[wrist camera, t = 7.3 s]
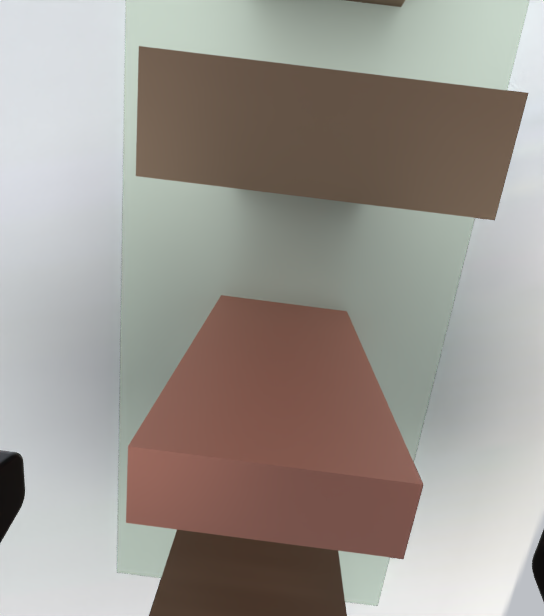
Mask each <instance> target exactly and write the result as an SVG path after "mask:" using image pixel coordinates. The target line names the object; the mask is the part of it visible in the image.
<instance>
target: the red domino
mask: <svg viewBox="0 0 544 616" xmlns="http://www.w3.org/2000/svg"><path fill="white" fill-rule="evenodd" d="M422 488H423V483H422V480H421V478H420V476H419V474H418V471H417V469H416V467H415V465H414V462H413V460H412V458H411V456H410V453H409V451H408V449H407V446H406V444H405V442H404V440H403V437H402V435H401V433H400V431H399V428H398V426H397V424H396V422H395V419H394V417H393V415H392V412H391V410H390V408H389V406H388V403H387V401H386V399H385V397H384V394H383V392H382V390H381V388H380V385H379V383H378V381H377V378H376V376H375V374H374V372H373V369H372V367H371V365H370V363H369V360H368V358H367V356H366V354H365V351H364V349H363V347H362V344H361V342H360V340H359V338H358V335H357V333H356V331H355V329H354V326H353V324H352V322H351V319H350V317H349V315H348V313H347V311H341V310H333V309H325V308H317V307H310V306H302V305H294V304H286V303H278V302H270V301H263V300H255V299H247V298H239V297H231V296H224V295H221V296H220V298H219V299H218V301H217V303H216V304H215V306H214V308H213V309H212V311H211V312H210V314H209V316H208V317H207V319H206V321H205V322H204V324H203V325H202V327H201V329H200V330H199V332H198V333H197V335H196V337H195V338H194V340H193V342H192V343H191V345H190V346H189V348H188V350H187V351H186V353H185V355H184V356H183V358H182V359H181V361H180V363H179V364H178V366H177V368H176V369H175V371H174V372H173V374H172V376H171V377H170V379H169V381H168V382H167V384H166V385H165V387H164V389H163V390H162V392H161V393H160V395H159V397H158V398H157V400H156V402H155V403H154V405H153V406H152V408H151V410H150V411H149V413H148V415H147V416H146V418H145V419H144V421H143V423H142V424H141V426H140V428H139V429H138V431H137V432H136V434H135V436H134V437H133V439H132V441H131V442H130V444H129V445H128V464H127V502H126V523H131V524H139V525H146V526H154V527H162V528H169V529H177V530H185V531H192V532H200V533H208V534H215V535H223V536H230V537H238V538H246V539H253V540H261V541H269V542H276V543H284V544H292V545H299V546H307V547H314V548H322V549H330V550H337V551H345V552H353V553H360V554H368V555H375V556H383V557H391V558H398V559H404V555H405V551H406V547H407V544H408V540H409V536H410V533H411V529H412V525H413V521H414V518H415V514H416V510H417V506H418V503H419V499H420V495H421V491H422Z"/></svg>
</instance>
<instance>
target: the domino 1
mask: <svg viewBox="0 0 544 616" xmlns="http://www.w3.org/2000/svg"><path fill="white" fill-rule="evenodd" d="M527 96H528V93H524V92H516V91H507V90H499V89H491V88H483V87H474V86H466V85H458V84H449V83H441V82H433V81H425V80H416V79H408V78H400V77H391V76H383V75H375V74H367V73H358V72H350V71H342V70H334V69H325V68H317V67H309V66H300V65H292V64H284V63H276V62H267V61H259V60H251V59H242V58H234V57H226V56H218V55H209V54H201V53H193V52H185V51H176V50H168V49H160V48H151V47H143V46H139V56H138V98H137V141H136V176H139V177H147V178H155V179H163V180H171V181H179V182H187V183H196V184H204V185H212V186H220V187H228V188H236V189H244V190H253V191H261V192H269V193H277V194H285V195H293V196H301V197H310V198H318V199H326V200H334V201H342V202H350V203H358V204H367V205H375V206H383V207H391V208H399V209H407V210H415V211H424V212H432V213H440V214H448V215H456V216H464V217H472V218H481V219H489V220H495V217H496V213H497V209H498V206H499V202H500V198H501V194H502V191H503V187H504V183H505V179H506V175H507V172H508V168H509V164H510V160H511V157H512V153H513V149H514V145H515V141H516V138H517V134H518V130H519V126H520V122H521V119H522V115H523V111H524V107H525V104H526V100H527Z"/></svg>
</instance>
